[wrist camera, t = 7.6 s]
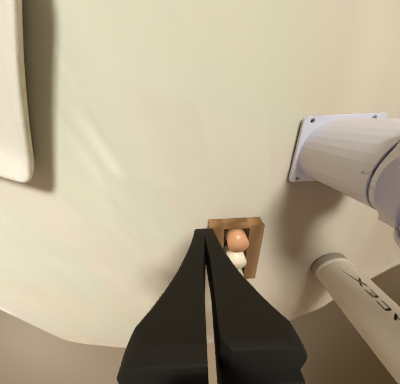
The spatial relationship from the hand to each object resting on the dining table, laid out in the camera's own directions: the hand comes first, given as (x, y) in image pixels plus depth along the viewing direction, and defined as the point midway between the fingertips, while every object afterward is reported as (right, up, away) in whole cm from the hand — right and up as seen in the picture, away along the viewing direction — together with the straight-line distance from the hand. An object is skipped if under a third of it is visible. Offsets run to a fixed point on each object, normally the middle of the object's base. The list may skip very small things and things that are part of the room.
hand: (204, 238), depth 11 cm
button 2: (+5, -3, +12) cm, 13 cm away
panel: (+5, -6, +15) cm, 17 cm away
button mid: (+5, -7, +14) cm, 16 cm away
